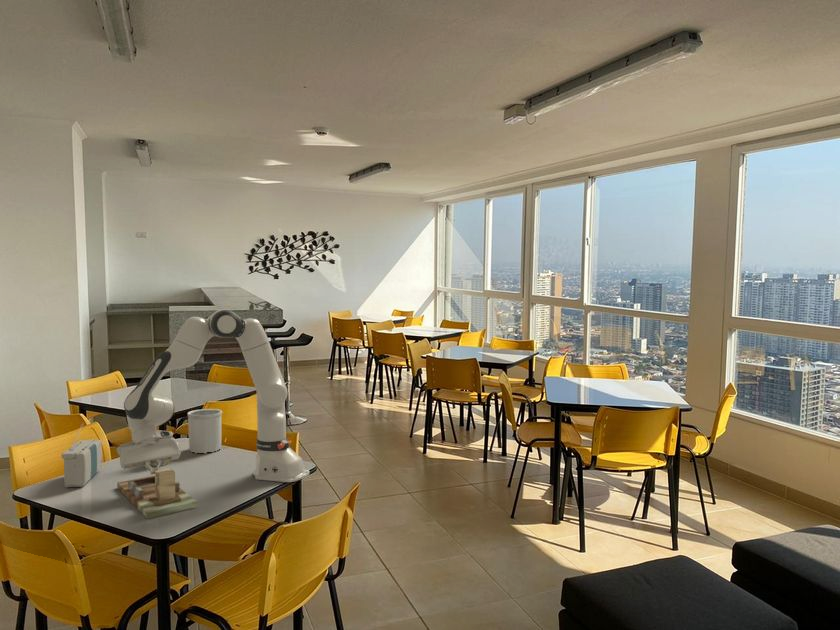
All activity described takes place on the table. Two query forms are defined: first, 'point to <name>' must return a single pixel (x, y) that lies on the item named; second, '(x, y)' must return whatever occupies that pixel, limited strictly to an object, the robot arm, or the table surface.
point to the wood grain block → (164, 487)
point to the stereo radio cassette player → (82, 462)
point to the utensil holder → (204, 430)
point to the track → (145, 488)
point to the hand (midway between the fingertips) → (155, 473)
